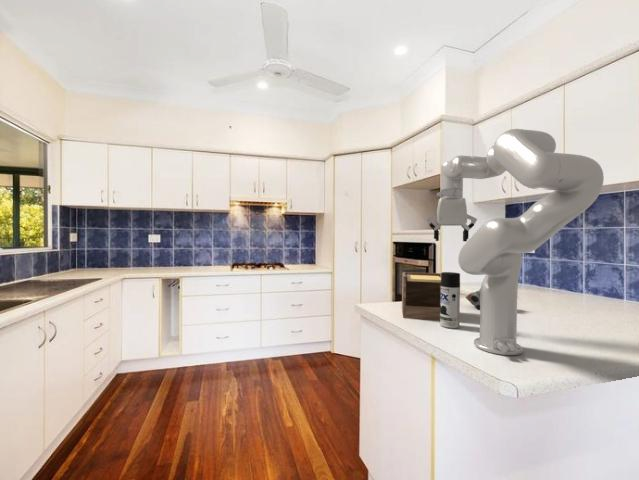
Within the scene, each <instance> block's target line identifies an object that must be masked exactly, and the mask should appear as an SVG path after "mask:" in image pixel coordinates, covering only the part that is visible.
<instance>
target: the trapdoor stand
mask: <svg viewBox="0 0 639 480" xmlns="http://www.w3.org/2000/svg"><path fill="white" fill-rule="evenodd" d="M441 273H442V272H441ZM441 273H439V272H436V273H435V272H415V271H413V272H412V271H411V272H410V271H402V276H401V278H402V279H401V280H402V283H401V312H402V318H403V319H413V320H414V319H415V320H416V319H417V320H428V321H429V320H430V321H440V302H441V282H418V281H407V278H406V275H407V274H409V275H427V276H439V277H440V278H441Z"/></svg>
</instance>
